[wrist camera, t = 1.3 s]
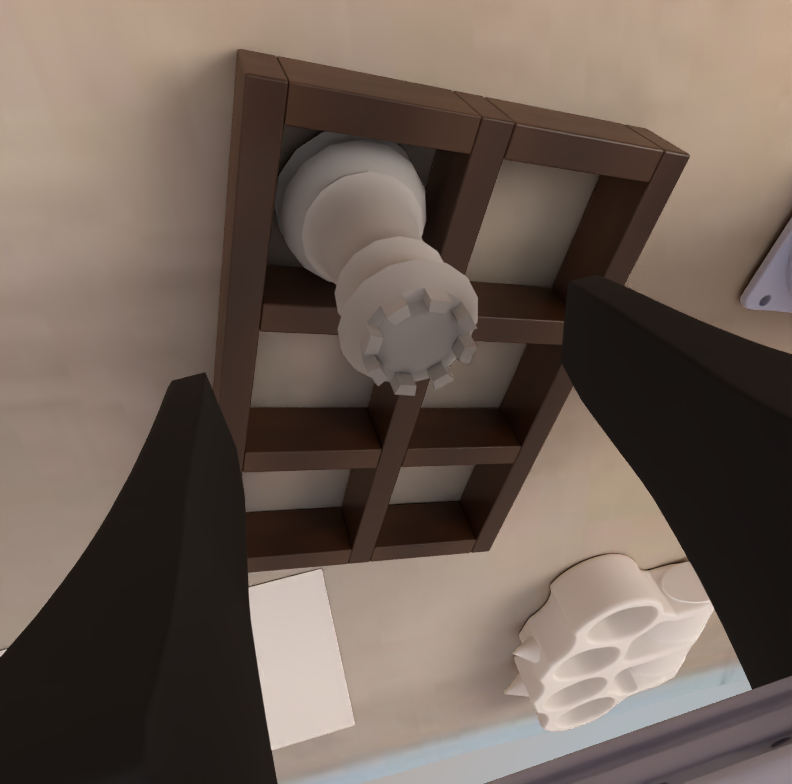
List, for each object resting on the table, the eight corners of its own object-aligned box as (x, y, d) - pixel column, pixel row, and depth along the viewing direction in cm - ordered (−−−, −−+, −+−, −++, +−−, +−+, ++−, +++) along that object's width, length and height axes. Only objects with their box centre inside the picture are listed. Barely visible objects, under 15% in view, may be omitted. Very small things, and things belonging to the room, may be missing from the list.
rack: (647, 128, 20) (692, 155, 19) (471, 513, 32) (489, 551, 30) (237, 47, 16) (245, 72, 14) (202, 529, 27) (205, 576, 25)
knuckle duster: (654, 655, 51) (487, 705, 49) (726, 521, 40) (509, 578, 37) (679, 695, 49) (504, 750, 46) (762, 566, 37) (533, 630, 34)
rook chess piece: (375, 279, 21) (453, 442, 15) (249, 235, 19) (284, 406, 13) (441, 158, 19) (559, 294, 13) (308, 92, 17) (380, 222, 11)
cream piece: (276, 697, 39) (285, 768, 36) (143, 735, 37) (141, 812, 34) (249, 626, 33) (256, 704, 30) (89, 669, 31) (81, 754, 28)
